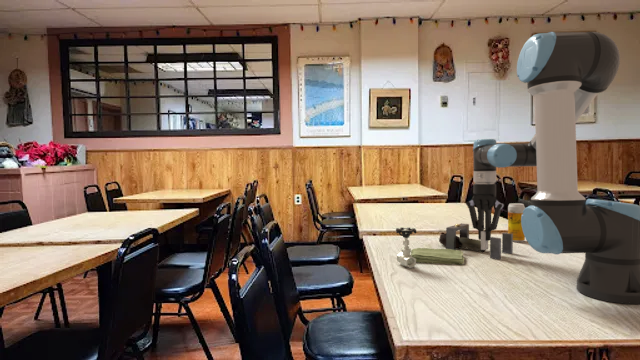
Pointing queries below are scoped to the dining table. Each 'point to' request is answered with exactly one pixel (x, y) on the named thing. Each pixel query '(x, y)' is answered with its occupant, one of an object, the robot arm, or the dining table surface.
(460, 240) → the dark green flashlight
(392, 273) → the dining table surface
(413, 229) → the valve
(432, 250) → the washcloth
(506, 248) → the grey upright posts
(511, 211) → the beer glass
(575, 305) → the dining table surface
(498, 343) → the dining table surface
